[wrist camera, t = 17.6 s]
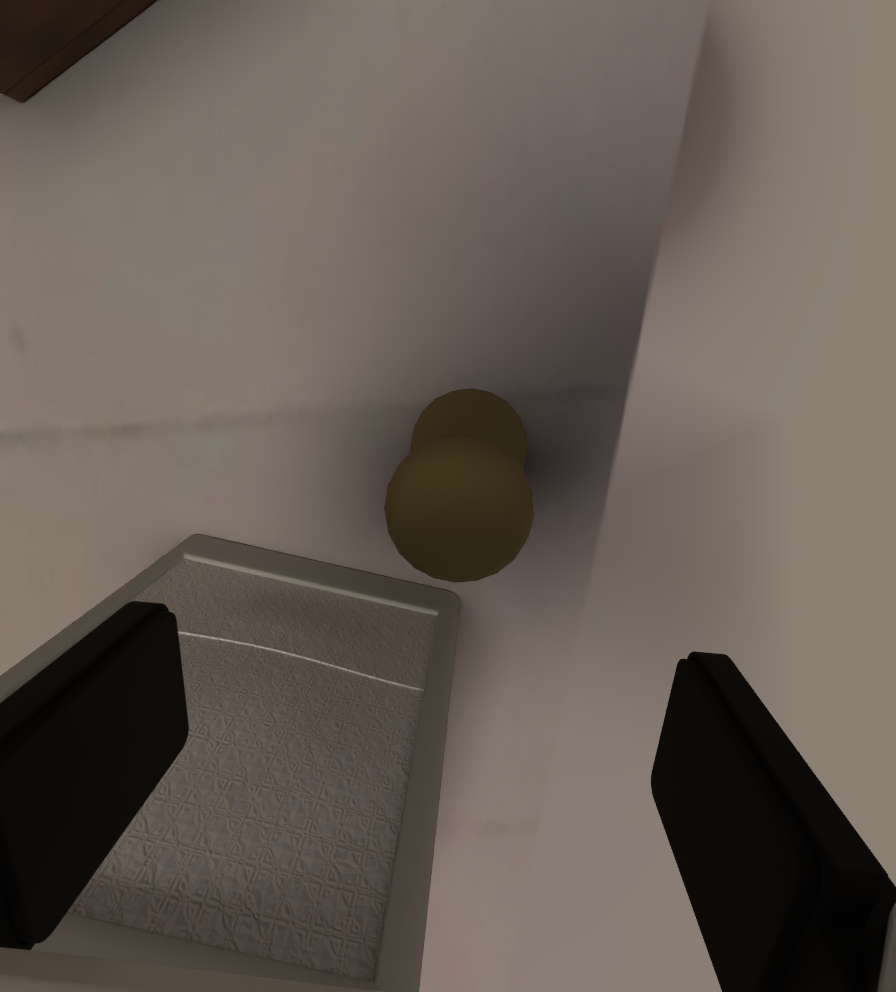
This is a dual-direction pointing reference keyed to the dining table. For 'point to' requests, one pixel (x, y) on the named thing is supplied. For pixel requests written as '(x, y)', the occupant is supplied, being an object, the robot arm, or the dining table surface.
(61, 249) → the dining table surface
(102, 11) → the cupboard
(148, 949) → the white box red top
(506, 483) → the brown rounded tall piece
